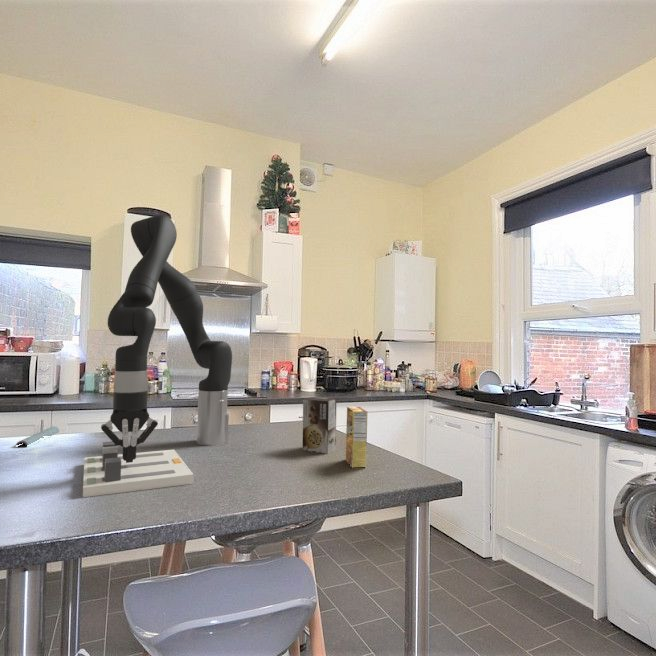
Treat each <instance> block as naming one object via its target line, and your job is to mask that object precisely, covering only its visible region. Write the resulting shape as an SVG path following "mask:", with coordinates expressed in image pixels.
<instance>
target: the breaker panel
mask: <svg viewBox="0 0 656 656" xmlns="http://www.w3.org/2000/svg"><path fill="white" fill-rule="evenodd" d="M112 446H117V445H115V444H114V443H113V441H112V440H111V441H102V448H103V447H112ZM101 452H102V453H101V454H102V455H97V456H90V457H89V456H88V457H84V461H83V481H82V482H83V483H82V498H88V497H95V496H96V497H98V496H103V495H104V496H105V495H112V494H120V493H128V492H137V491H146V490H154V489H161V488H170V487H179V486H185V485H193V484H194V473H193V472H192V470H191V469H190V468H189V467H188V465H187V464H186V463H185V462H184V460H183V459H182V458H181V456H180V455H179V453H177V451H176V450H175V449H167V450H166V449H164V450H155V451H145V452H143V451H142V452H136V458H135V459H134V460H133V462H129V463H126V460H125V461H124V460H123V453H121V454H120V453H118V458H107V459H105V470H103V468H102V459H103V450H102V451H101Z"/></svg>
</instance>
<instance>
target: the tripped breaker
mask: <svg viewBox="0 0 656 656" xmlns="http://www.w3.org/2000/svg"><path fill="white" fill-rule="evenodd" d="M118 446H119V445H118ZM118 446H112V447H103V446H102V451H103V459H102V468H103V470H105V459H107V458H118V455H119V447H118Z"/></svg>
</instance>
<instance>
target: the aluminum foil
mask: <svg viewBox="0 0 656 656" xmlns="http://www.w3.org/2000/svg"><path fill="white" fill-rule="evenodd" d="M58 433H60V429H59V427H57V426H50V427H49V428H48V427H47V428H46V429H44V430H42V431H39V432H37V433H35V434H33V435H30V436H28V437H26V438H23V439H21V440H19V441H18V442H16V444H15V446H16V445H19V444H22V443H24V445H25V446H26V445H29V444H31V443H33V442H35V441H37V440H39V439H40V438H44V437H43V436H50V437H52V436H54V435H56V434H58Z"/></svg>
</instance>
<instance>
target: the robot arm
mask: <svg viewBox="0 0 656 656" xmlns="http://www.w3.org/2000/svg"><path fill="white" fill-rule="evenodd" d="M130 226H131V227H130V234H131V237H132V240H133V243H134V244H135V247H136V248H137V250H138V251H139V253H140V255H141V256H142V257H141V259H140V260H139V261H138V262H137V263H136V265H134V267H133V268H132V270H131V272H130V274H129V276H128V279H127V282H126V286H125V289H124V292H123V293H122V295H121V296H120V297H119V298H118V300H117V301H116V303H115V304H114V306H113V307H112V308H111V310H110V311H109V314H108V317H107V328H108V330H109V331H110V333H112V335H115V336H117V337H136V339H135V341H134V343H131V344H130V345H129V344H128V345H123V346H120V347H118V348H117V349H116V350H115V356H114V357H115V359H114V361H115V368H114V377H113V389H112V390H113V391H112V393H113V394H112V399H113V400H112V413H111V415H110V419H109V420H108V421H107V422H105V423H103V424H101V426H100V428H101V431H103V433H104V434H105V435H106V436H107V438H109V439H110V440H111V441H113V443H114V444H115V445H117V446H120V447H122V454H123V460H124V461H125V460H126V463H129V462H133V460H134V459H135V458H136V453H137V446H138V445H140V444H144V442H146V440H147V439H148V438H149V436H150V435H151V434H152V433H153V431H154V430H155V429H156V428H157V426H158V425H159V423H158V421H157V420H156V419H153V418H152V417H150V413H149V412H148V390H149V389H148V388H149V384H148V383H149V382H148V381H149V379H148V371H147V370H148V353H149V347H150V344H151V340H152V338H153V334H154V331H155V328H156V323H157V317H156V315H155V313H154V311H153V310H152V309H151V308H149V307H150V306H152V304H153V302H154V299H155V295H156V291H157V286H158V284H159V286H160V289H161V290H162V292H163V294H164V296H165V298H166V300H167V302H168V305H169V306H170V308H171V310H172V312H173V314H174V315H175V317H176V319H177V320H178V323H179V325H180V327H181V329H182V331H183V333H184V335H185V337H186V340H187V343H188V345H189V348H190V350H191V353H192V356H193V359H194V360H195V363H196V364H197V365H198V366H199V367H201V368H204V369H208V375H207V376H206V378H204V379H202V380H200V381H199V382H198V399H197V400H198V401H197V423H196V426H197V427H196V430H197V431H196V444H197V445H199V446H200V445H201V446H221V445H223V444H228V443H229V418H230V416H229V413H228V394H229V393H228V392H229V391H228V389H229V387H228V386H229V384H230V381H231V377H232V365H233V364H232V363H233V352H232V348H231V346H230V344H229V343H227V341H222V340H221V341H220V340H211V339H210V337H209V335H208V333H207V332H206V329H205V328H204V323H203V322H204V321H203V318H204V303H203V300H202V298H201V296H200V293H199V292H198V289H197V288H196V285H195V284H194V282H193V281H192V280H191V279H190V278H189V277H187V276H186V275H184V274H183V273H182V272H180V271H179V270H178V269H176V268H174V267H173V266H172V265H171V264H170V263H169V261H167V260H168V259H169V256H170V255H171V253H172V250H173V248H174V247H175V244H176V241H177V238H178V237H177V234H178V233H177V228H176V226H175V224H174V222H173V220H172V219H171V218H170V216H168V215H165V214H156V215H153V216H150V217H147V218H143V219H140V220H136V221H134V222H133V223H132V224H131V225H130ZM144 425H146V427H145V429H144V430H143V431H142V433H141V434H140V435H139V431H140V430H141V429H142V428H143V427H144ZM114 427H115V428H116V429H117V430H118V431H119V432H120V433H121V438H119V437H118V436H117V434H115V433H114V431H113V429H114ZM129 433H130V440H129Z"/></svg>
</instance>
